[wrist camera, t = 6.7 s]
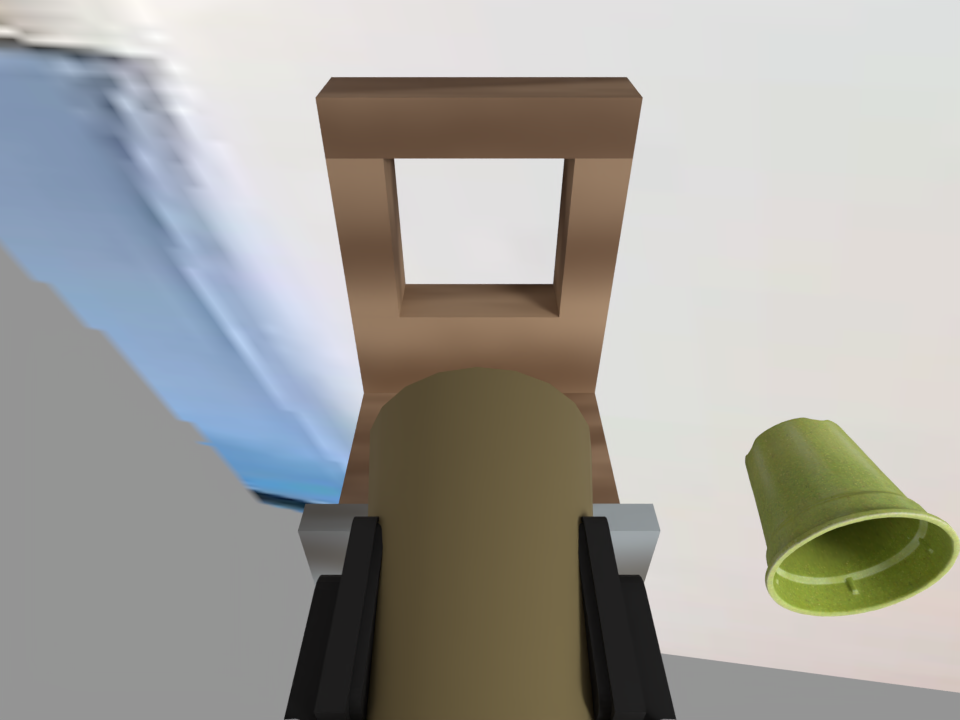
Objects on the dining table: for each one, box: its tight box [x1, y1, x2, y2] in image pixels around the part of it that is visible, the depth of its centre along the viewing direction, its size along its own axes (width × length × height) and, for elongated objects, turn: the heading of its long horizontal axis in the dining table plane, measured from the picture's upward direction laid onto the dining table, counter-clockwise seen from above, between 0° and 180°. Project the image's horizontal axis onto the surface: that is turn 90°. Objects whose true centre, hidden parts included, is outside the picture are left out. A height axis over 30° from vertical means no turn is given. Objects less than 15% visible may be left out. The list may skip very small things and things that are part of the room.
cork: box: [366, 367, 594, 720], centre depth 12 cm, size 6×6×11 cm
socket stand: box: [298, 77, 660, 586], centre depth 24 cm, size 17×13×13 cm
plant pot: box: [745, 417, 960, 617], centre depth 34 cm, size 9×9×9 cm
